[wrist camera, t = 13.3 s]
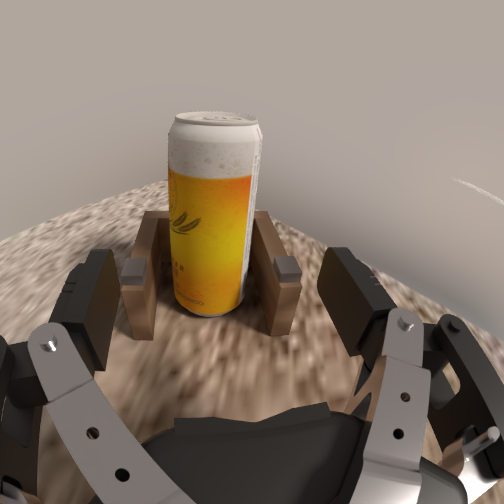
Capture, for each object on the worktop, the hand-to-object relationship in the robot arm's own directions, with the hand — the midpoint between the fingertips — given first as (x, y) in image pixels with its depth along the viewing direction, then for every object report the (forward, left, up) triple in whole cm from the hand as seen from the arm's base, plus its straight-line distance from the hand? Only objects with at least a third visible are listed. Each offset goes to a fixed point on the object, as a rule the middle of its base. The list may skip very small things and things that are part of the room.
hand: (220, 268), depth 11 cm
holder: (0, +11, -11) cm, 15 cm away
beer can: (0, +11, -11) cm, 15 cm away
